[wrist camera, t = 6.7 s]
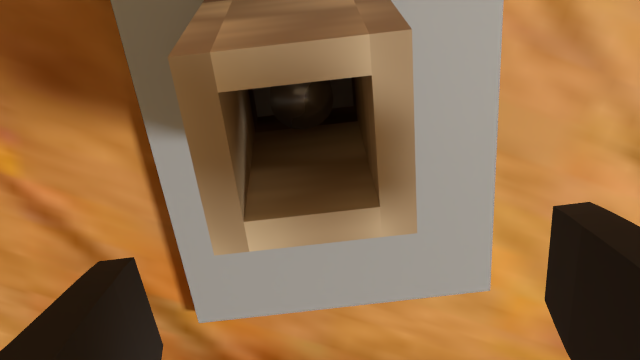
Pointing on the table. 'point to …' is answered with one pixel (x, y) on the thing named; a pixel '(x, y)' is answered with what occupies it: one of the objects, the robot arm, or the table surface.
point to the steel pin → (302, 103)
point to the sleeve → (298, 144)
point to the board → (429, 107)
